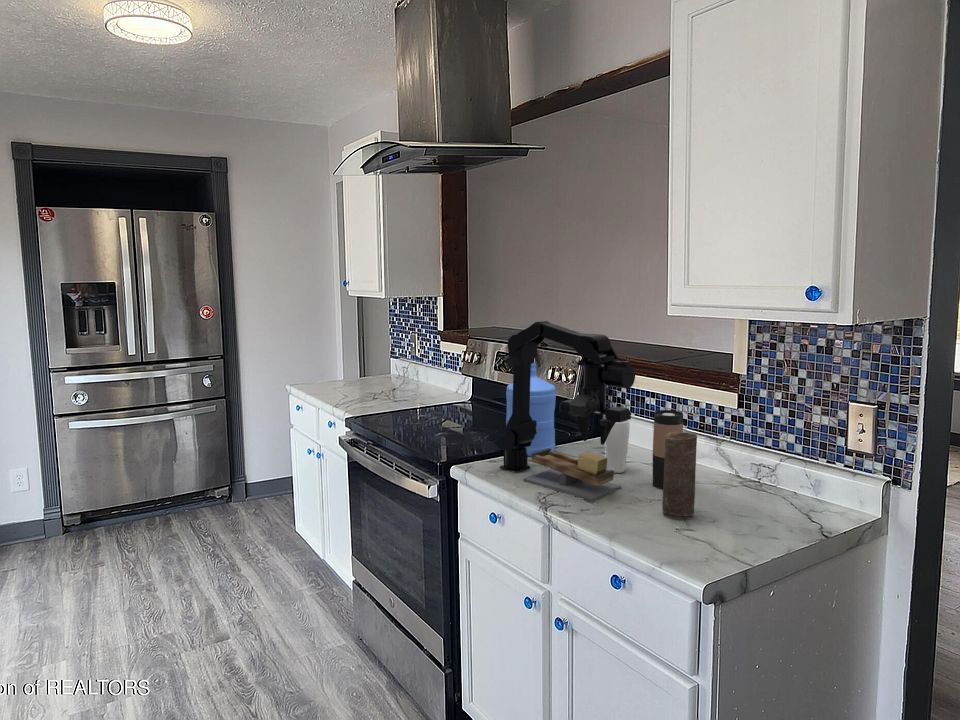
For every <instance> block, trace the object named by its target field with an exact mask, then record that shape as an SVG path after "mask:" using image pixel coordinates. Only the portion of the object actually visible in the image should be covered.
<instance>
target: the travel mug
mask: <svg viewBox="0 0 960 720" xmlns="http://www.w3.org/2000/svg"><path fill="white" fill-rule="evenodd" d="M653 416H654V418H653V435H652V436H653V437H652V438H653V439H652V485H653V487H654V488H657V489H661V490H663V482H664V461H665V437H666V435H667V434H668V433H670V432H679V433H681V432H683V431H684V412H681V411H679V410H671V409H660V410H655V411H654V414H653Z"/></svg>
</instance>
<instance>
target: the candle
mask: <svg viewBox="0 0 960 720" xmlns="http://www.w3.org/2000/svg"><path fill="white" fill-rule="evenodd" d="M697 441H698V435H697V434H696V433H695V432H688V431H687V432H685V431H684V432H681V433H679V432H670V433H668V434H667V435H666V437H665V461H664V482H663V489H662V503H661V504H662V505H661V507H662V512H663V513H664V514H666V515H670V516H675V517H693V516H694V514H695V501H696V500H695V499H696V498H695V497H696V472H697V471H696V468H697V444H698V443H697Z"/></svg>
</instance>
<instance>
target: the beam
mask: <svg viewBox="0 0 960 720" xmlns="http://www.w3.org/2000/svg"><path fill="white" fill-rule="evenodd" d="M531 462H532V463H535V464H538V465H540V466H543V467H546V468H548V469H553V470H556V471H559V472H561V473H564V474H567V475H569V476H572V477H575V478H577V479H580V480H583V481H585V482H588V483H591V484H593V485H596V486H600V485H602V484H605V483H607V482H609V483H610V482H611V481H613V480H614V476H615V473H614V471H613V470H609V471H608V470H607V469H606V472H604V473H602V474H599V475H597V476H593V475H591V474H588V473H585V472H583V471H580V470H577V469H578V458H577V459H576V458H573V457H570V456H568V455H565V454H563V453H560V452H557V451H555V450H554V451H551V449H550V448H546V449H543V450H540V451H537V452H534V453H532V456H531Z"/></svg>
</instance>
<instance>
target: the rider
mask: <svg viewBox="0 0 960 720" xmlns="http://www.w3.org/2000/svg"><path fill="white" fill-rule="evenodd" d="M577 460H578V469H577V470H580V471H583V472H585V473H588V474H591V475H593V476H597V475H599V474H602V473H604V472H606V470H607V456H604V455H600V454H598V453H595V452H592V451H585V452H582V453H580V454H578V458H577Z"/></svg>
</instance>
